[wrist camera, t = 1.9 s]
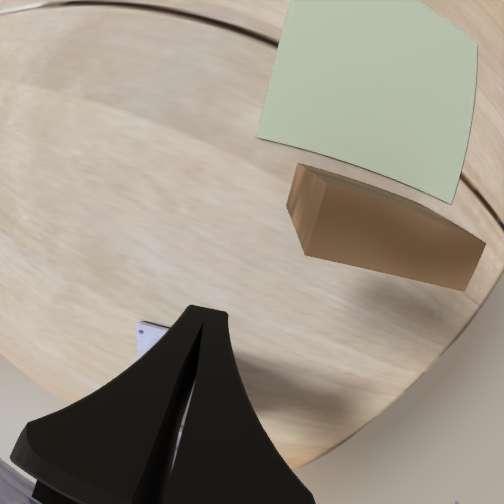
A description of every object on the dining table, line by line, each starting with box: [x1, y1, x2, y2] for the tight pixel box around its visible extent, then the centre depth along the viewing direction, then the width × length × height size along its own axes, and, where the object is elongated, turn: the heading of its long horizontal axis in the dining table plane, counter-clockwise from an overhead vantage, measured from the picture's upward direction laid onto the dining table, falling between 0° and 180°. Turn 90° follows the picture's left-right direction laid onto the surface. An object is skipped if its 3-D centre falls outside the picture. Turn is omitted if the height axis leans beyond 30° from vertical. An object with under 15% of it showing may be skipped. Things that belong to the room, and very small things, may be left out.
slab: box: [286, 163, 486, 291], centre depth 14 cm, size 3×10×8 cm, turn 77°
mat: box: [256, 0, 477, 204], centre depth 13 cm, size 16×16×1 cm
